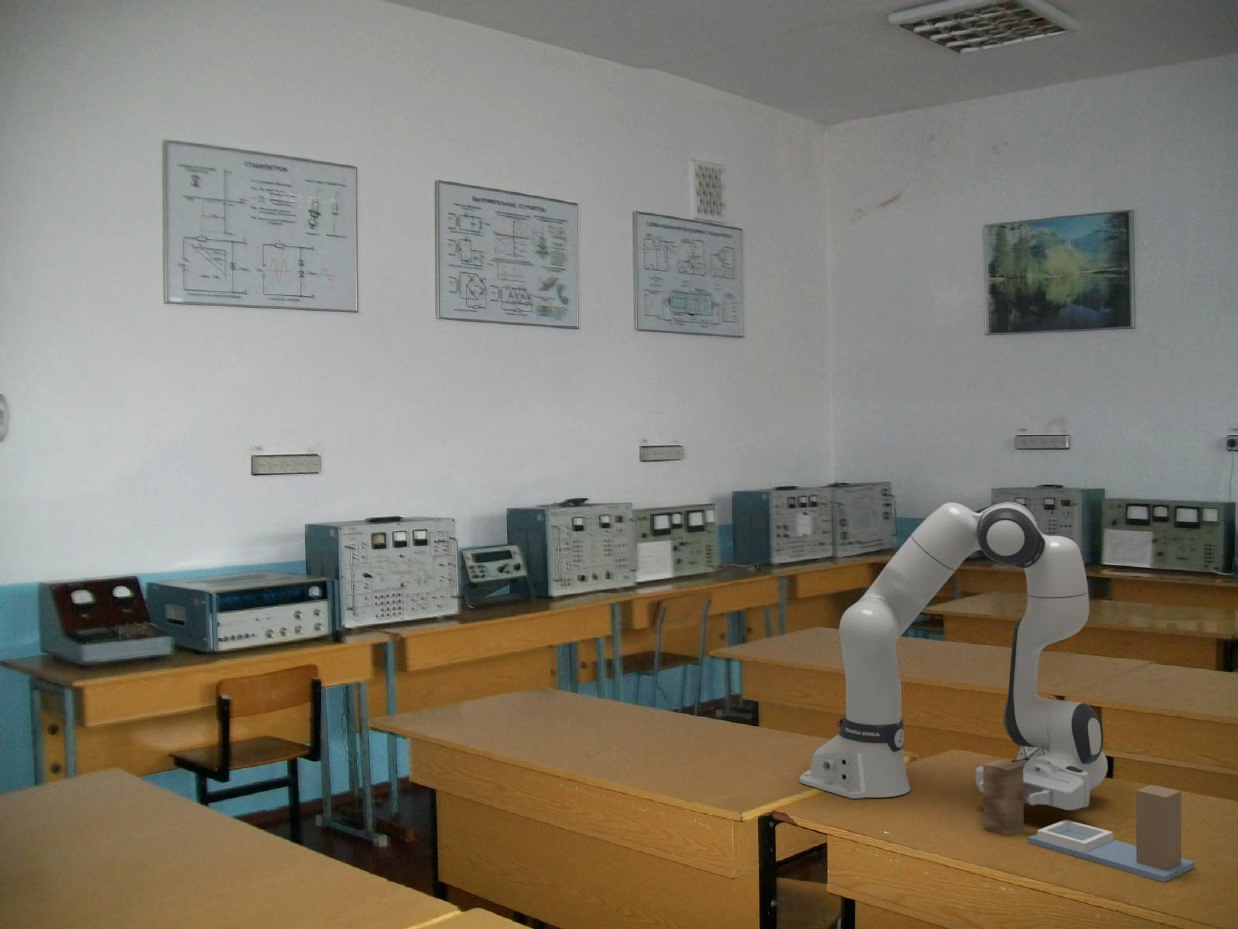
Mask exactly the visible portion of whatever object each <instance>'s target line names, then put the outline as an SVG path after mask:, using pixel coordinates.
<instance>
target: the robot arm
mask: <svg viewBox="0 0 1238 929" xmlns="http://www.w3.org/2000/svg"><path fill="white" fill-rule="evenodd" d="M1038 527H1039V526H1038V521H1037V518H1036V516H1035V514H1034V513H1033V512H1032V510H1031V509H1030V508H1029V507H1028V506H1026V505H1025V504H1024V503H1021V502H1018V501H1014V500H1004V501H1000V502H997V503H993V504H991V505H989V506H986V507H983V508H981V509H978V510H976V511H973V510H972V509H970V508H969V507H968V506H966V505H963V504H961V503H957V502H945V503H944V504H942V505H940V506H939V507H938V508H937V509H935V510H934V511H933V512H932V513H931V514H930V515H929V516H928V517H927V518H925V519H924V520H923V521H922V522H921V524H919V526H917V527H916V529H915V530H914V531H913V532H912V533H911V535H910V536H909V537H908V538H907V540H906V541H905V542H904V543H903V544H902V546H900V548H899V549H898V550H897V552H896V553H895V554H894V555H893V556H892V558H890V560H889V561H888V562H887V564H886V565H885V566H884V567H883V569H882V571H881V572H880V573H879V575H878V576H877V578H876V579H875V580H874V581H873V583H872V584H871V585H870V586H869V588H868V589H867V591H865V593H864V595H862V596H861V597H860V599H859V600H858V601H856V602H855V603H853V604H852V605H851V606H850V607H848V608H847V609H846V610H845V611H844V613H843V614H842V616H841V617H840V621H839V625H838V626H839V627H838V635H839V639H840V640H839V641H840V647H841V648H840V650H841V655H842V656H841V657H842V662H843V669H844V676H845V713H846V714H845V716H844V717H842V718H840V719H839V720H836V721H835V722H834V724H835V725H834V728H838V727H839V731H838V734H837V735H836V736H835V735H834V737H832V738H831V739H829V740H828V741H827V742H825V743H824V744H823V745H821V746H819V747H818V748H817V749H816V751H814V753H813V756H812V759H811V764H810V769H809V770H806V771H805V772H803V773H802V774H801V775H800V777H799V778H800V779H799V782H800V784H804V785H807V786H810V787H813V788H816V789H819V790H823V791H826V792H830V793H833V794H836V795H839V796H843V797H846V798H848V799H864V798H891V797H897V796H898V797H899V796H902V795H905V794H907V793H909V792H910V791H911V786H910V782H909V779H908V775H907V770H906V765H905V758H904V750H903V748H904V743H905V733H904V732H905V729H904V727H905V726H904V724H905V723H904V720H903V718H902V680H901V677H900V670H899V664H898V652H897V641H898V640H899V639H900V638H901V636H902V635H903V634H904V633H905V631H906V630H908V628H909V627H910V626H911V624H912V623H913V622H914V621H915V619H917V617H918V616H919V614H920V613H921V612H922V611H923V610H924V609H925V608H926V606H927V605H928V604H929V602H930V601H931V600H932V599H933V598H934V597H935V595H936V594H937V593H938V592H939V591H940V589H941V588H943V586H944V585H945V584H946V582H947V581H948V580H949V579H950V578H951V577H952V576H953V574H954V573H955V572H956V571H957V570H958V569H959V567H960V566H961V565H962V563H963V562H964V561H965V560H966V559H967V558H968V557H969V556H970V555H972V554H973V553H975V552H977V551H982V553H983V554H984V555H985V556H986V557H988V558H989V559H990V560H992V561H994V562H997V563H1000V564H1003V565H1008V566H1014V567H1015V568H1021V569H1023V571H1024V574H1025V578H1026V579H1025V580H1026V591H1027V605H1026V610H1025V613H1024V615H1023V617H1021V618H1020V619H1019V620H1017V622H1016V624H1015V627H1014V631H1013V636H1012V642H1011V643H1012V645H1011V651H1010V652H1011V654H1010V665H1009V666H1010V668H1009V681H1008V694H1007V699H1006V702H1005V703H1006V704H1005V707H1004V711H1003V712H1004V713H1003V720H1002V721H1003V727H1004V730H1005V731H1006V733H1007V735H1008V736H1009V738H1010V739H1011V741H1012V742H1013V743H1014V744H1016V745H1017V746H1019V747H1021V746H1024V747H1042V748H1047V749H1049V750H1050V752H1049V753H1048V754H1045V755H1042V756H1039V757H1036V758H1033V759H1031V760H1029V761H1028V762H1027V763H1026V764H1025V766H1024V768H1023V803H1025V804H1026V805H1031V806H1035V805H1046V806H1048V807H1049V806H1050V807H1052V808H1053V807H1054V808H1058V809H1062V810H1064V811H1065V810H1066V811H1075V810H1079V809H1081V808H1082V809H1083V808H1088V807H1089V806H1090V796H1091V795H1090V794H1091V793H1090V792H1091V790H1092V789H1094V788H1096V787H1097V786H1099V785H1100V784H1101V782H1102V781H1103V780H1104V779H1105V777H1106V776H1107V773H1108V769H1109V768H1108V767H1109V766H1108V759H1107V757H1106V755H1105V753H1104V751H1103V747H1104V746H1103V745H1104V731H1103V725H1102V722H1101V720H1100V718H1099V716H1098V714H1097V713H1096V711H1095V710H1094V709H1093V708H1092V707H1091V705H1089V704H1088V703H1086V702H1077V701H1071V700H1066V699H1065V700H1064V699H1063V700H1060V699H1053V698H1044V697H1041V696H1040V695H1039V693H1038V691H1037V688H1038V674H1039V673H1038V672H1039V661H1040V655H1041V653H1042V651H1043V649H1044V648H1046V646H1049V645H1051V644H1054V643H1056V642H1060V641H1062V640H1066V639H1068V638H1070V637H1072V636H1074V635H1076V634H1078V632H1080V631H1081V630H1082V629H1083V628H1084V626H1085V625H1086V624H1087V621H1088V620H1089V614H1090V598H1089V589H1088V588H1089V587H1088V586H1089V585H1088V581H1087V580H1088V579H1087V573H1086V568H1085V563H1084V560H1083V557H1082V553H1081V550H1080V547H1079V545H1078V544H1077V543H1076V542H1075V541H1074V540H1072V539H1071V538H1069V537H1065V536H1061V535H1047V534H1044V533H1042V532H1041V530H1040V529H1039V528H1038ZM974 774H975V775H974V779H975V784H976V786H977V788H979V789H978V790H979V792H980V793H983V765H980V766H978V767H976V769H975V772H974Z"/></svg>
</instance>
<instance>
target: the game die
mask: <svg viewBox="0 0 1238 929" xmlns="http://www.w3.org/2000/svg"><path fill="white" fill-rule="evenodd" d="M1049 752H1050V749H1047V748H1042V747H1024V746H1019V749H1018V751H1017V754H1016V757H1015V759H1013V760H1011V761H1010V762H1013V763H1017V764H1021V765H1023V768H1024V766H1025V764H1026V763H1027V762H1028V761H1029V760H1031V759H1033V758H1036V757H1039V756H1042V755H1045V754H1048V753H1049Z"/></svg>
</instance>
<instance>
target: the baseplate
mask: <svg viewBox="0 0 1238 929" xmlns="http://www.w3.org/2000/svg"><path fill="white" fill-rule="evenodd" d="M1135 792H1136V793H1135V796H1136V797H1135V813H1136V814H1135V823H1136V824H1135V826H1136V827H1135V828H1136V831H1135V832H1136V833H1135V835H1136V836H1135V838H1136V839H1135V840H1136V841H1135V842H1136V843H1135V844H1136V845H1133V844H1132V843H1131V844H1130V843H1127V842H1123V841H1120V840H1116V839H1114V832H1113V831H1110V830H1106V829H1104V828H1103V829H1102V828H1100V827H1099V828H1098V827H1096V826H1095V827H1094V826H1091V825H1088V824H1084V823H1081V822H1077V821H1074V820H1069V819H1063V820H1061V821H1059V822H1056V823H1053V824H1050V825H1048V826H1045V827H1043V828H1041V829H1037V833H1035V834H1033V835H1030V836H1028V837H1027V840H1028V842H1027V843H1028V844H1031V845H1033V846H1038V847H1041V848H1045V849H1049V850H1052V851H1055V852H1059V853H1061V852H1062V854H1065V855H1069V856H1072V855H1073V856H1072V857H1075V856H1076V858H1079V859H1083V860H1085V859H1086V861H1089V860H1090V861H1089V862H1093V863H1096V862H1098V863H1097V864H1099V863H1100V864H1099V865H1102V864H1103V866H1107V867H1110V868H1112V869H1117V870H1121V871H1124V872H1126V873H1130V874H1133V875H1137V876H1141V877H1144V878H1147V879H1150V880H1155V881H1158V882H1160V883H1167V882H1168V881H1171V880H1172V879H1174V878H1176V877H1177V878H1178V877H1179V876H1180V875H1183V874H1185V873H1187V872H1189V871H1191V870H1193V869H1195V868H1196V867H1195V866H1196V865H1195V864H1196V863H1195V861H1193V860H1190V859H1186V858H1183V857H1182V791H1181V790H1177V789H1172V788H1168V787H1164V786H1159V785H1154V784H1150V785H1147V786H1145V787H1142V788H1139V789H1136V790H1135Z"/></svg>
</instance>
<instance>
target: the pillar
mask: <svg viewBox="0 0 1238 929" xmlns="http://www.w3.org/2000/svg"><path fill="white" fill-rule="evenodd" d="M982 766H983V792H982V794H983V795H982V796H983V800H982V802H983V831H988V832H990V833H994V834H998V835H1001V836H1005V837H1010V836H1013V835H1015V834H1018V833H1021V832H1023V831H1024V830H1025V829H1024V824H1025V823H1024V819H1025V818H1024V814H1025V813H1024V808H1025V807H1024V806H1025V805H1024V799H1023V765H1021V764H1017V763H1016V762H1011V761H1008V760H1003V759H999V758H998V759H996V760H992V761H990V762H986V763H984V764H983V765H982Z"/></svg>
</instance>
